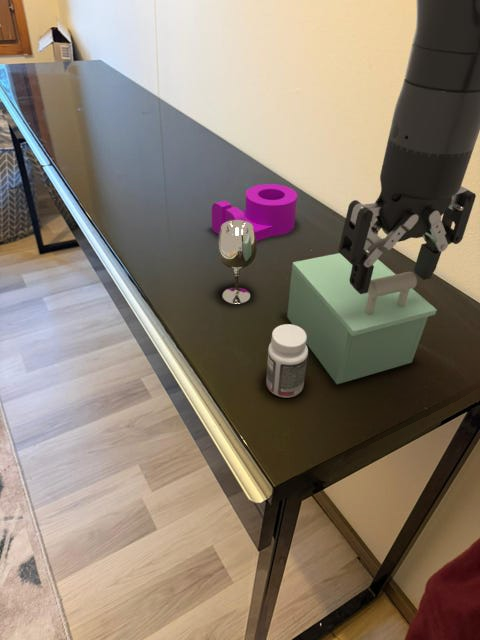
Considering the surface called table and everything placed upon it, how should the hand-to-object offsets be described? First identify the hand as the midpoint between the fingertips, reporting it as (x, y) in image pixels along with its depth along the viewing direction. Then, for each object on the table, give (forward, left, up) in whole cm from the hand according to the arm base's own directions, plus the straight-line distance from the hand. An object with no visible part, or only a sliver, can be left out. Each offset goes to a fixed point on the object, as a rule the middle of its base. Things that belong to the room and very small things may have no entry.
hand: (391, 282), depth 52 cm
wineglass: (+21, +11, -14) cm, 27 cm away
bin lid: (+5, 0, -5) cm, 7 cm away
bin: (+6, 0, -13) cm, 15 cm away
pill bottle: (+1, +12, -14) cm, 18 cm away
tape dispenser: (+41, -1, -14) cm, 43 cm away
